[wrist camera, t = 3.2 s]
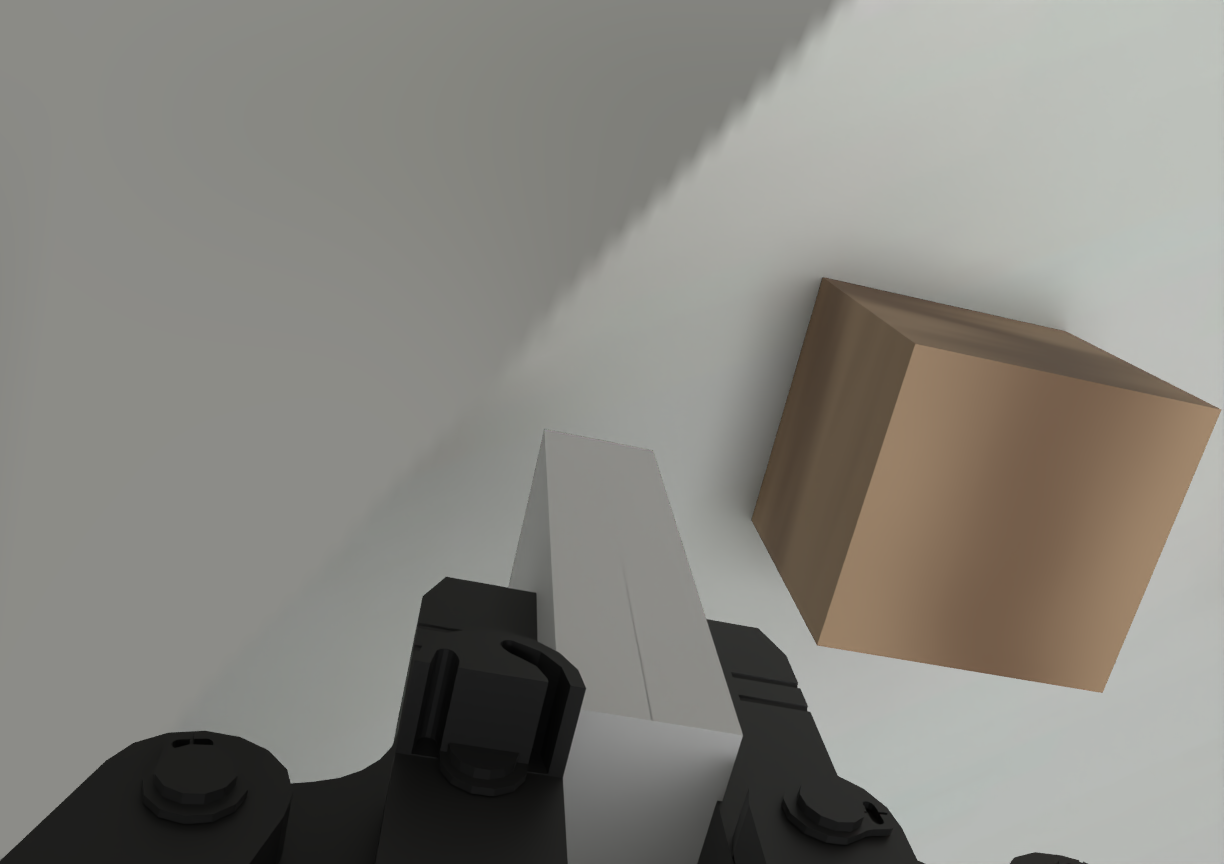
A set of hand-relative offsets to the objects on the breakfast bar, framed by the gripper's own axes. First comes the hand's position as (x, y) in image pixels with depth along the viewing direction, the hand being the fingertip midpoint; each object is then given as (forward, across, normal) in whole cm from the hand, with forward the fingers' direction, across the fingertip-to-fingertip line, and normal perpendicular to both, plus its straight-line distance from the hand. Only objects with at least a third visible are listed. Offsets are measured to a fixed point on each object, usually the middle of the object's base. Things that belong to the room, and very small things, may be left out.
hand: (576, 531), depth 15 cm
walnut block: (+10, +8, 0) cm, 13 cm away
